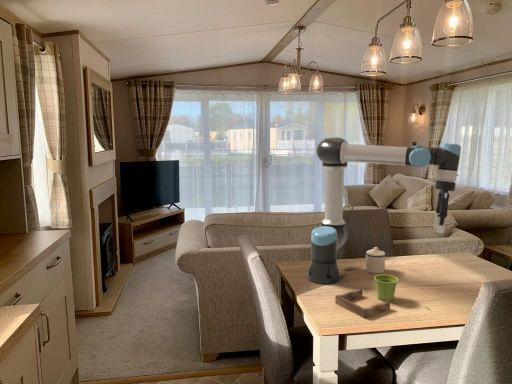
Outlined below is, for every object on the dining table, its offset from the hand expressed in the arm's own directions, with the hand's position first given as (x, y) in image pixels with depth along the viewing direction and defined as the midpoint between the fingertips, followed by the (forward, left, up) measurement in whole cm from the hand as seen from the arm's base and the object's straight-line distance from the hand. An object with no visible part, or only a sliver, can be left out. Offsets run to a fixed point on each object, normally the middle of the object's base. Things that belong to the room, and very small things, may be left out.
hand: (438, 230), depth 168 cm
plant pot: (-17, -21, -26) cm, 37 cm away
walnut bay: (-23, -32, -26) cm, 47 cm away
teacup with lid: (-29, +11, -26) cm, 40 cm away
